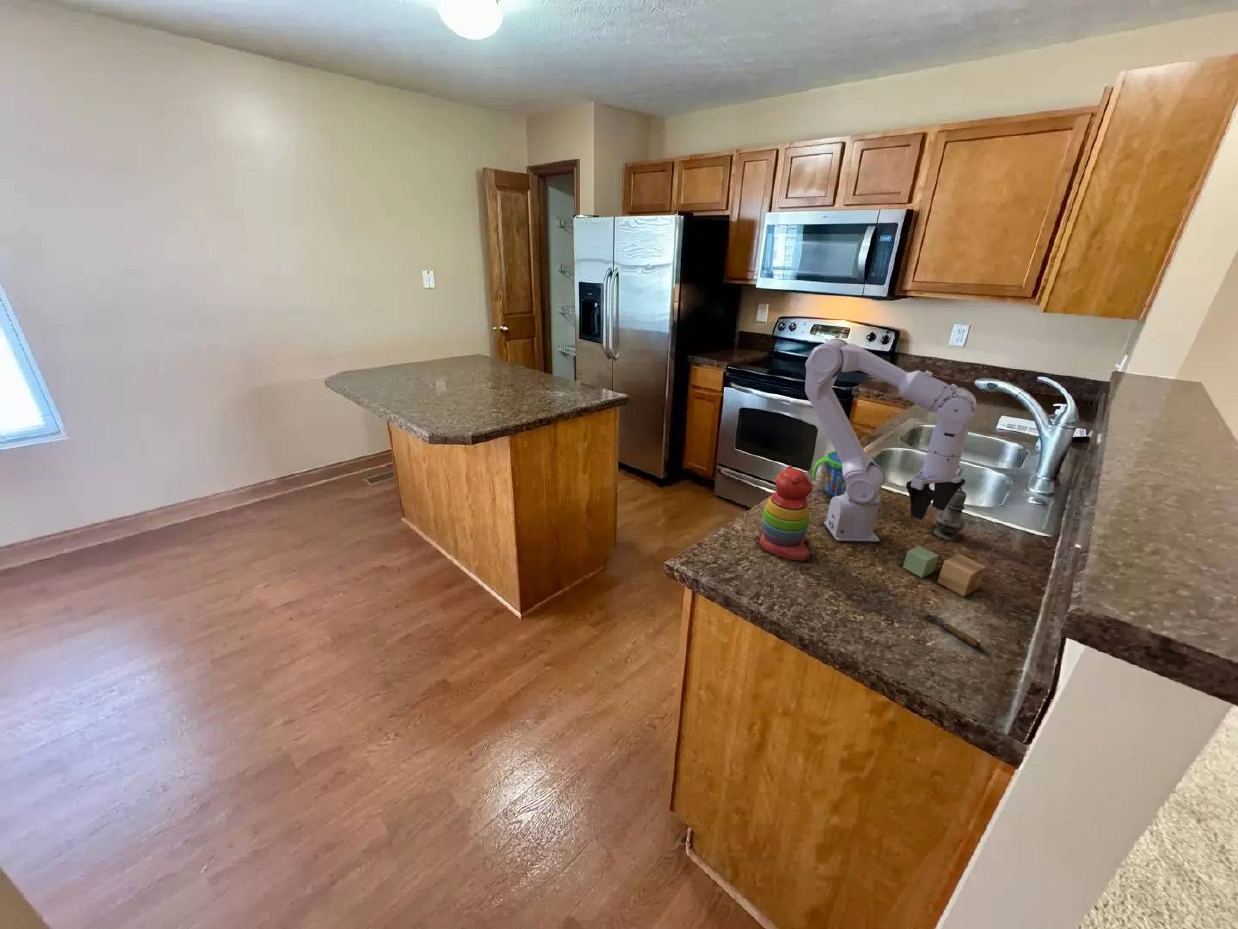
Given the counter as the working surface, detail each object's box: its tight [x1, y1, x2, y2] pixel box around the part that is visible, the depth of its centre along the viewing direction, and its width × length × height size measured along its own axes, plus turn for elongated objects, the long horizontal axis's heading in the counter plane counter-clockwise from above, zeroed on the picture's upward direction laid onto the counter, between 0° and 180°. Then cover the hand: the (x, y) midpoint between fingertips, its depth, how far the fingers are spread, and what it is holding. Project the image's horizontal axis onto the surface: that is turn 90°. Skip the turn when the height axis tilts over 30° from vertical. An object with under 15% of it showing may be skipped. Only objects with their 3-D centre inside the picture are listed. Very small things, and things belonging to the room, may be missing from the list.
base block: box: [937, 553, 986, 597], centre depth 98 cm, size 5×5×5 cm
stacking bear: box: [759, 465, 814, 562], centre depth 107 cm, size 11×10×18 cm
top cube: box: [902, 545, 940, 578], centre depth 102 cm, size 4×4×4 cm
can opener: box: [927, 612, 981, 649], centre depth 86 cm, size 9×2×1 cm, turn 23°
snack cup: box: [811, 450, 846, 498], centre depth 132 cm, size 16×10×10 cm
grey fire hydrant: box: [932, 486, 967, 541], centre depth 114 cm, size 6×6×12 cm
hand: (927, 512), depth 106 cm, fingers open, 7 cm apart
